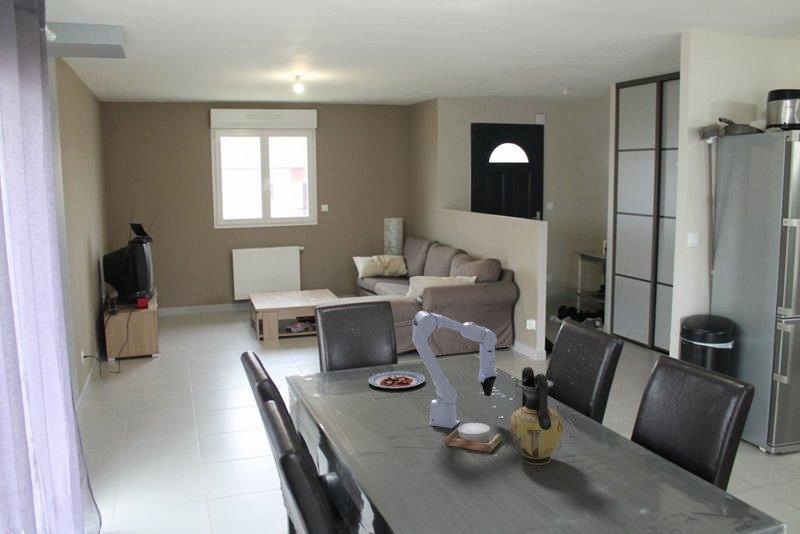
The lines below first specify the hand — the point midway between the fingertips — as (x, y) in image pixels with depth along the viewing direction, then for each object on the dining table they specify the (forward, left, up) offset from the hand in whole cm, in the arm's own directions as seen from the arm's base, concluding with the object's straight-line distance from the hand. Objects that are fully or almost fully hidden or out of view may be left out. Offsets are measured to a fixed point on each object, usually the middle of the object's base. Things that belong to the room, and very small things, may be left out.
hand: (487, 395), depth 264 cm
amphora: (+27, -30, -10) cm, 42 cm away
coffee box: (+14, -1, -10) cm, 17 cm away
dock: (+3, -24, -9) cm, 26 cm away
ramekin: (+3, -24, -10) cm, 26 cm away
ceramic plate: (-55, +29, -10) cm, 63 cm away
